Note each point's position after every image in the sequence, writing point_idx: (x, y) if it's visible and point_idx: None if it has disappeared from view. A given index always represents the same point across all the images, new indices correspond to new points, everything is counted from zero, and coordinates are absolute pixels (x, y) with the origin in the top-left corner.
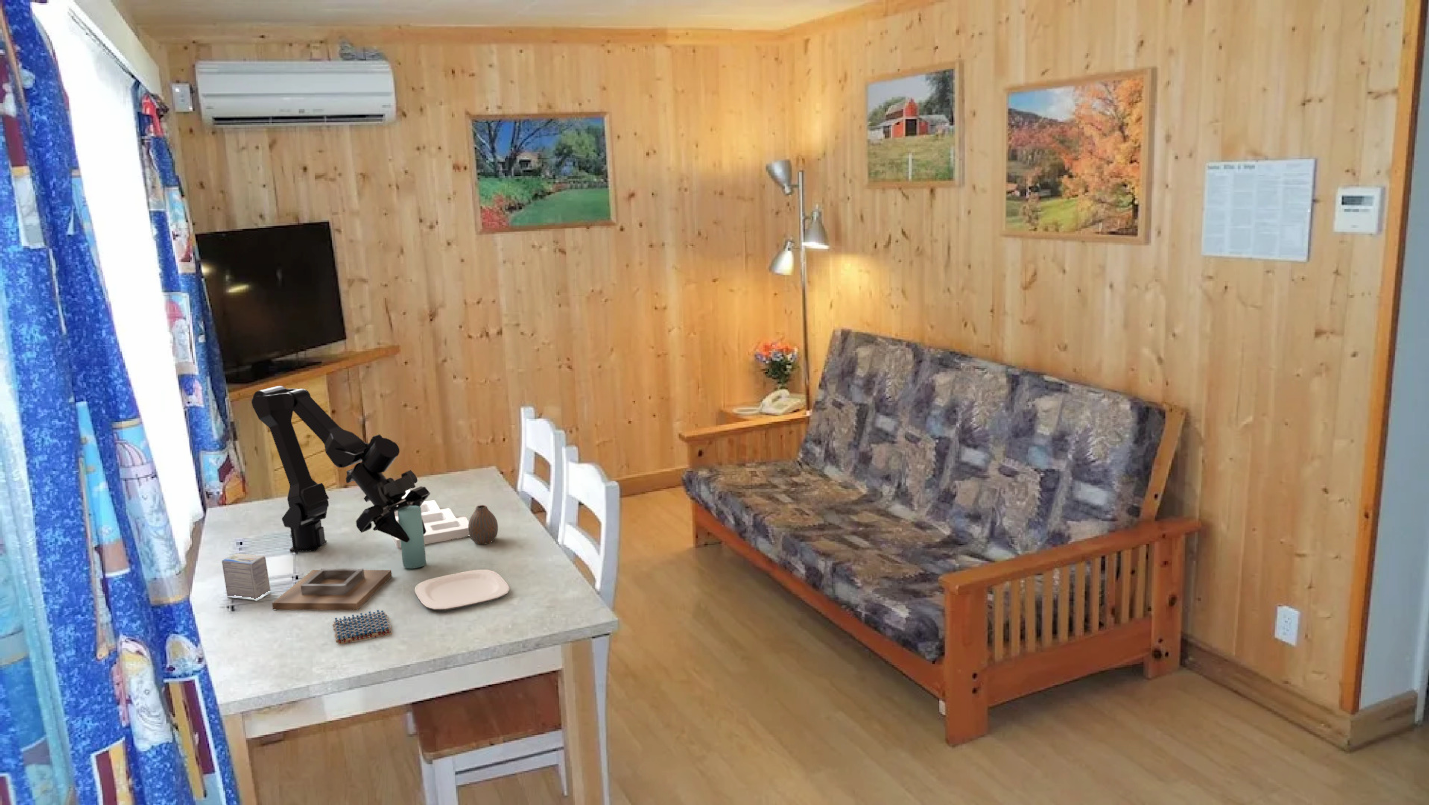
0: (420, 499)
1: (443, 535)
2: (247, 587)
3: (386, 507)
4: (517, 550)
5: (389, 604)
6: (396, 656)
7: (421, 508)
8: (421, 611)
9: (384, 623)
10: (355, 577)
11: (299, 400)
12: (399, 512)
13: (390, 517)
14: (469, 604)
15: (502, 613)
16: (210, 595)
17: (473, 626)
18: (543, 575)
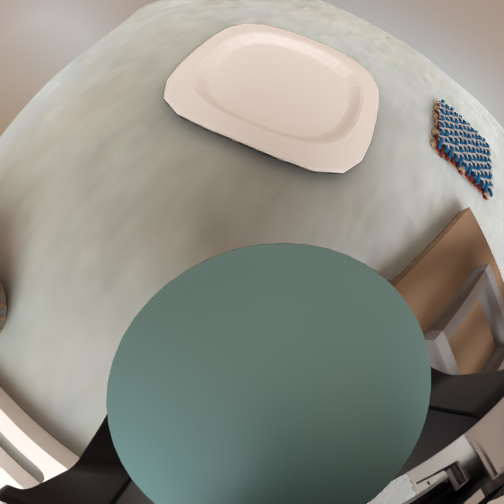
0: (10, 500)
1: (33, 433)
2: None
3: (478, 498)
4: (15, 174)
5: (415, 175)
6: (436, 73)
7: None
8: (381, 103)
9: (444, 114)
10: (461, 302)
11: None
12: (426, 400)
13: (475, 378)
14: (318, 42)
15: (289, 19)
16: None
17: (341, 31)
18: (129, 45)
